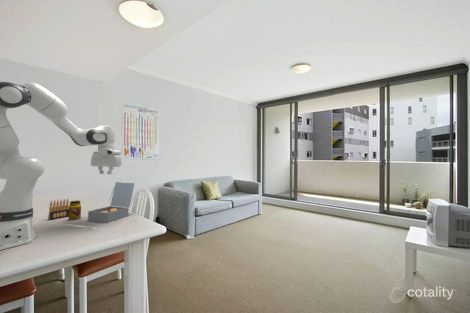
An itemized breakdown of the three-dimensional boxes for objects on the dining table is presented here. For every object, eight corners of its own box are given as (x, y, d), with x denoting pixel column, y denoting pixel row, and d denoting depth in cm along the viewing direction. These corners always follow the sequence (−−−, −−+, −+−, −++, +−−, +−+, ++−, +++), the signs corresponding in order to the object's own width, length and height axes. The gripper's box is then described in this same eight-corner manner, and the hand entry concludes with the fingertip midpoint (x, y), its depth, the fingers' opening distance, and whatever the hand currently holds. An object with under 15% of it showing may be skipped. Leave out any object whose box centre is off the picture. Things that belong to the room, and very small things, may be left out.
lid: (133, 183, 146) (135, 183, 148) (115, 182, 150) (117, 182, 152) (128, 207, 142) (130, 207, 143) (110, 205, 146) (112, 205, 147)
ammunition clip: (49, 220, 132) (50, 200, 132) (48, 220, 133) (48, 200, 133) (69, 216, 142) (70, 198, 142) (68, 216, 142) (68, 198, 143)
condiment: (77, 222, 130) (77, 202, 130) (61, 222, 129) (62, 202, 129) (83, 218, 137) (84, 199, 137) (69, 219, 136) (70, 200, 136)
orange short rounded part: (113, 217, 137) (113, 209, 137) (108, 217, 138) (108, 209, 138) (118, 216, 141) (118, 208, 141) (113, 215, 142) (113, 208, 142)
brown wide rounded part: (104, 220, 130) (104, 212, 130) (98, 220, 131) (99, 211, 131) (109, 219, 134) (109, 210, 134) (104, 218, 135) (104, 210, 135)
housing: (108, 224, 126) (108, 213, 126) (87, 222, 130) (88, 211, 130) (128, 217, 142) (128, 207, 142) (109, 215, 145) (109, 206, 146)
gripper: (88, 151, 133) (87, 173, 133) (115, 151, 128) (114, 174, 127) (97, 151, 139) (96, 173, 139) (123, 151, 134) (122, 174, 133)
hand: (105, 173), depth 133 cm, fingers open, 5 cm apart
